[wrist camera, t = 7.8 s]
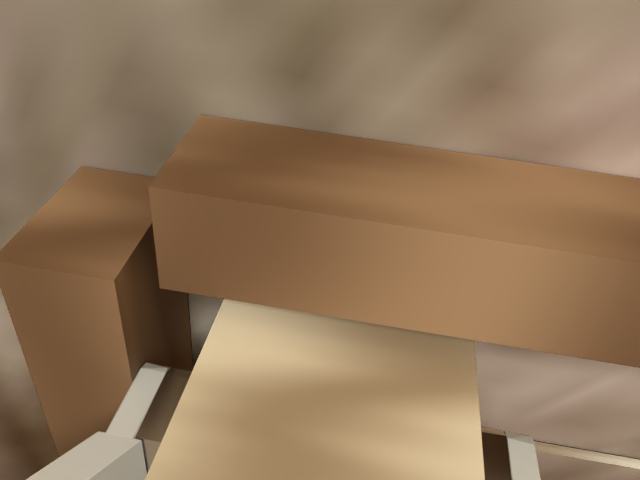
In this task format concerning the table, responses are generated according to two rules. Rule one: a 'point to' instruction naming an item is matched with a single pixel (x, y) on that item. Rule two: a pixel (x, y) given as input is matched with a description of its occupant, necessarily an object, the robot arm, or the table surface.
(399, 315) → the fence board
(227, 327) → the block
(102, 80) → the table surface
